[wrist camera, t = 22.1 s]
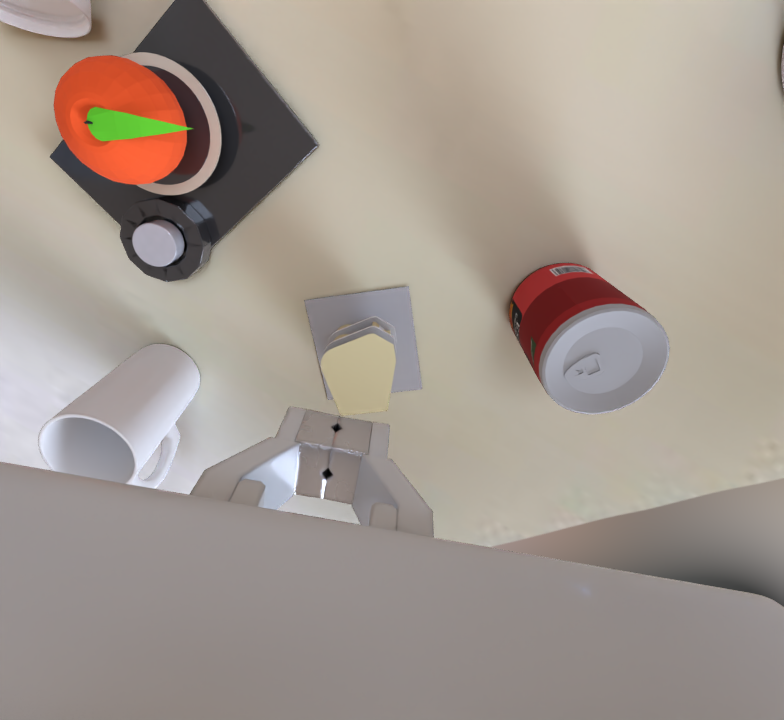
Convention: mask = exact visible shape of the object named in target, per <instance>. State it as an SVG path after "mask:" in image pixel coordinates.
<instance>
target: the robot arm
mask: <svg viewBox="0 0 784 720" xmlns="http://www.w3.org/2000/svg"><path fill="white" fill-rule="evenodd" d="M781 74H782V84H783V90H784V45H783V52H782V63H781ZM389 431H390V425H389V424H384V423H377V422H373V423H372V422H369V421H363V420H357V419H351V418H345V417H340V416H337V415H332V414H327V413H323V412H318V411H313V410H307V409H303V408H298V407H292V406H290V407H289V408H288V410H287V412H286V414H285V417H284V419H283V421H282V423H281V426H280V428H279V430H278V432H277V434H276V437H275V438H273V437H269V438H267V439H265V440H263V441H261V442H259V443H257V444H255V445H253V446H252V447H250V448H248V449H246V450H244V451H242V452H240V453H238V454H236V455H234V456H232V457H230V458H228V459H226V460H224V461H222V462H220V463H218V464H216V465H214V466H212V467H210V468H208V469H206V470H204V472H203V474H202V475H201V477H200V478H199V480H198V482H197V483H196V485H195V486H194V488H193V490H192V491H191V493H190V495H188V494H182V493H176V492H171V491H165V490H159V489H153V488H148V487H142V486H136V485H131V484H125V483H119V482H114V481H108V480H102V479H96V478H91V477H85V476H79V475H74V474H68V473H62V472H57V471H51V470H45V469H39V468H34V467H28V466H22V465H17V464H11V463H5V462H0V720H784V607H783V606H781V605H780V604H778V603H777V602H775V601H774V600H772V599H769V598H767V597H764V596H761V595H757V594H752V593H747V592H741V591H736V590H730V589H724V588H718V587H712V586H707V585H701V584H695V583H689V582H683V581H677V580H672V579H666V578H660V577H654V576H649V575H643V574H637V573H632V572H625V571H620V570H615V569H609V568H603V567H597V566H592V565H586V564H580V563H574V562H569V561H564V560H558V559H552V558H547V557H541V556H535V555H530V554H523V553H518V552H513V551H506V550H501V549H496V548H490V547H484V546H478V545H473V544H467V543H461V542H456V541H450V540H444V539H438V538H434V529H433V511H432V510H431V508H430V507H429V506H428V505H427V503H426V502H425V501H424V500H423V498H422V497H421V496H420V494H419V493H418V492H417V491H416V489H415V488H414V487H413V486H412V484H411V483H410V482H409V480H408V479H407V478H406V477H405V475H404V474H403V473H402V472H401V470H400V469H399V468H398V466H397V465H396V464H395V463H394V461H393V460H392V459H387V456H388V443H389ZM293 494H296V495H303V496H309V497H316V498H323V499H327V500H332V501H337V502H342V503H347V504H352V507H353V509H354V511H355V513H356V515H357V517H358V519H359V522H360V524H361V525H359V524H353V523H347V522H341V521H336V520H330V519H324V518H319V517H313V516H307V515H302V514H296V513H290V512H284V511H279V510H276V509H278V508H279V507H280V506H281V505H282V504H284V503H285V502H286V501H287V500H288V499H290V498H291V497H292V496H293Z"/></svg>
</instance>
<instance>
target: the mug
mask: <svg viewBox="0 0 784 720" xmlns="http://www.w3.org/2000/svg"><path fill="white" fill-rule="evenodd" d="M199 385H200V374H199V370H198V368H197V366H196V364H195V363H194V361H193V360H192V359H191V358H190V357H189V356H188V355H187V354H186V353H185V352H183V351H182V350H180V349H178V348H176V347H173V346H171V345H167V344H151V345H148V346H145V347H143V348H142V349H140V350H139V351H137V352H136V353H135V354H133V355H132V356H131V357H129V358H128V359H127V360H125V361H124V362H123V363H121V364H120V365H119V366H118V367H116V368H115V369H114V370H113V371H111V372H110V373H109V374H108V375H106V376H105V377H104V378H103V379H101V380H100V381H99V382H97V383H96V384H95V385H94V386H92V387H91V388H90V389H88V390H87V391H86V392H85V393H83V394H82V395H81V396H79V397H78V398H77V399H76V400H74V401H73V402H72V403H70V404H69V405H68V406H67V407H65V408H64V409H63V410H62V411H60V412H59V413H58V414H57V415H56V416H54V417H53V418H52V419H50V420H49V421H48V422H46V423H45V424H44V426H43V427H42V428H41V430H40V433H39V436H38V446H39V450H40V453H41V456H42V458H43V459H44V461H45V463H46V464H47V465H48V467H49V468H50V469H51V470H52V471H57V472H62V473H68V474H74V475H79V476H85V477H91V478H96V479H102V480H108V481H114V482H119V483H125V484H131V485H136V486H142V487H148V488H153V489H155V488H156V487H157V486H158V485H159V484H160V483H161V482H162V481H163V479H164V478H165V476H166V474H167V473H168V471H169V468H170V466H171V464H172V461H173V458H174V455H175V452H176V449H177V446H178V444H179V441H180V433H179V431H178V429H177V427H176V424H175V422H176V421H177V419H178V418H179V416H180V415H181V414H182V412H183V411H184V410H185V408H186V407H187V406H188V404H189V403H190V401H191V400H192V398H193V397H194V395H195V394H196V392H197V391H198V388H199ZM160 443H161V455H160V459H159V462H158V464H157V466H156V468H155V470H154V472H153V473H152V474H151V475H150V476H149V477H148V478H147V479H145V480H142V479H141V478H140V477H139V476H138V473H139V471H140V470H141V469H142V467H143V466H144V465H145V463H146V462H147V461H148V459H149V458H150V456H151V455H152V454H153V452H154V451H155V450H156V448H157V447H158V445H159V444H160Z"/></svg>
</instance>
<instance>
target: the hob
mask: <svg viewBox="0 0 784 720" xmlns="http://www.w3.org/2000/svg"><path fill="white" fill-rule="evenodd" d="M137 52H146V53H153V54H158V55H161V56H164V57H167V58H169V59H171V60H173V61H175V62H177V63H178V64H180V65H181V66H183V67H184V68H185V69H187V70H188V71H189V72H190V73H191V74H192V75H193V76H194V77H195V78H196V79H197V80H198V81H199V82H200V83H201V85H202V86H203V87H204V89H205V90H206V92H207V93H208V95H209V96H210V98H211V100H212V102H213V104H214V106H215V109H216V112H217V115H218V118H219V122H220V127H221V135H222V145H221V153H220V157H219V160H218V163H217V165H216V168H215V170H214V171H213V173H212V175H211V176H210V177H209V178H208V180H207V181H206V182H205V183H203V184H202V185H201V186H200V187H198V188H196V189H195V190H193V191H190V192H188V193H184V194H180V195H162V194H156V193H153V192H150V191H147V190H145V189H143V188H141V187H139V186H137V185H134V184H125V183H120V182H114V181H112V180H110V179H108V178H105V177H103V176H101V175H99V174H97V173H96V172H94V171H93V170H91V169H90V168H89V167H87V166H86V165H85V164H83V163H82V162H81V161H80V160H79V159H78V158H77V157H76V156H75V155H74V154H73V153H72V151H71V150H70V149H69V147H68V146H67V144H66V142H65V141H64V139H63V141H62V142H61V143H60V144H59V146H58V147H57V148H56V149H55V151H54V152H53V153H52V154H51V156H50V158H51V159H52V160H53V161H54V162H55V163H56V164H57V165H59V166H60V167H61V168H62V169H63V170H64V171H65V172H66V173H67V174H68V175H69V176H70V177H71V178H72V179H73V180H74V181H75V182H76V183H77V184H78V185H79V186H80V187H81V188H82V189H83V190H85V191H86V192H87V193H88V194H89V195H90V196H91V197H92V198H93V199H94V200H95V201H96V202H97V203H98V204H99V205H100V206H101V207H102V208H103V209H104V210H105V211H106V212H107V213H108V214H109V215H111V216H112V217H113V218H114V219H115V220H116V221H117V222H118V223H119V224H120V225H121V232H120V237H121V238H120V239H121V241H122V243H123V246H124V248H125V251H126V253H127V255H128V258H129V259H130V260H131V261H132V262H133V263H134V264H135V265H136V266H137V267H138V268H139V269H140V270H141V271H143V272H144V273H145V274H146V275H148V276H151V277H154V278H157V279H160V280H163V281H166V282H170V281H176V280H183V279H187V278H189V277H190V276H192V275H193V274H194V273H196V272H197V271H198V270H199V269H200V268H201V267H202V266H203V265H204V264H205V263H206V262H207V261H208V260H209V256H210V251H211V248H212V247H213V246H215V245H216V244H217V243H218V242H219V241H220V240H221V239H222V238H223V237H224V236H225V235H226V234H227V233H228V232H229V231H230V230H231V229H232V228H233V227H234V226H235V225H236V224H238V223H239V222H240V221H241V220H242V219H243V218H244V217H245V216H246V215H247V214H248V213H249V212H250V211H251V210H252V209H253V208H254V207H255V206H256V205H257V204H258V203H259V202H261V201H262V200H263V199H264V198H265V197H266V196H267V195H268V194H269V193H270V192H271V191H272V190H273V189H274V188H275V187H276V186H277V185H278V184H279V183H280V182H281V181H283V180H284V179H285V178H286V177H287V176H288V175H289V174H290V173H291V172H292V171H293V170H294V169H295V168H296V167H297V166H298V165H299V164H300V163H301V162H302V161H303V160H304V159H306V158H307V157H308V156H309V155H310V154H311V153H312V152H313V151H314V150H315V149H316V148H317V147H318V146H319V143H318V142H317V141H316V139H315V138H314V137H313V136H312V134H311V133H310V132H309V131H308V129H307V128H306V127H305V126H304V124H303V123H302V122H301V121H300V119H299V118H298V117H297V116H296V114H295V113H294V112H293V111H292V109H291V108H290V107H289V106H288V104H287V103H286V102H285V101H284V99H283V98H282V97H281V96H280V94H279V93H278V92H277V91H276V89H275V88H274V87H273V86H272V84H271V83H270V82H269V81H268V79H267V78H266V77H265V75H264V74H263V73H262V72H261V70H260V69H259V68H258V67H257V65H256V64H255V63H254V62H253V60H252V59H251V58H250V57H249V55H248V54H247V53H246V52H245V50H244V49H243V48H242V47H241V45H240V44H239V43H238V42H237V40H236V39H235V38H234V37H233V35H232V34H231V33H230V32H229V30H228V29H227V28H226V27H225V25H224V24H223V23H222V22H221V20H220V19H219V18H218V17H217V15H216V14H215V13H214V12H213V10H212V9H211V8H210V7H209V5H208V4H207V3H206V2H205V0H175V1H174V2H173V3H172V5H171V6H170V7H169V8H168V10H167V11H166V12H165V13H164V15H163V16H162V17H161V18H160V20H159V21H158V22H157V23H156V25H155V26H154V27H153V28H152V30H151V31H150V32H149V33H148V35H147V36H146V37H145V38H144V40H143V41H142V42H141V43H140V45H139V46H138V47H137V48H136V50H135V51H134V52H133V53H137ZM152 220H165V221H167V222H170V223H171V224H173V225H174V226H175V227H177V229H178V230H179V231H180V232H181V234H182V236H183V239H184V244H185V247H184V252H183V254H182V256H181V257H180V258H179V259H177V260H176V261H174V262H172V263H170V264H169V265H167V266H163V267H157V266H152V265H150V264H148V263H146V262H144V261H143V260H142V259H141V258H140V257H139V256H138V255H137V253H136V252H135V250H134V247H133V242H132V237H133V233H134V231H135V230H136V228H137V227H138V226H140V225H142V224H144V223H147V222H150V221H152Z"/></svg>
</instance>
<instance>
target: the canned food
mask: <svg viewBox="0 0 784 720" xmlns="http://www.w3.org/2000/svg"><path fill="white" fill-rule="evenodd" d="M509 318H510V324H511V327H512V330H513V332H514V334H515V336H516V337H517V339H518V341H519V343H520V345H521V347H522V349H523V351H524V353H525V355H526V356H527V358H528V360H529V362H530V364H531V366H532V368H533V370H534V372H535V374H536V375H537V377H538V379H539V381H540V382H541V384H542V386H543V387H544V389H545V391H546V392H547V394H548V395H549V396H550V397H551V398H552V399H553V400H554V401H555V402H556V403H557V404H558V405H560V406H562V407H563V408H565V409H567V410H570V411H573V412H576V413H582V414H602V413H608V412H612V411H615V410H618V409H621V408H624V407H626V406H628V405H630V404H632V403H634V402H635V401H637V400H638V399H640V398H641V397H643V396H644V395H645V394H646V393H647V392H648V391H649V390H651V389H652V388H653V386H654V385H655V384H656V383H657V382H658V380H659V379H660V377H661V376H662V374H663V372H664V370H665V368H666V365H667V362H668V359H669V349H670V347H669V341H668V337H667V335H666V332H665V330H664V328H663V327H662V326H661V325H660V323H659V322H658V321H657V320H656V319H655V318H654V316H652V315H651V314H650V313H648V312H647V311H646V310H645V309H644V308H642V307H641V306H639V305H638V304H637V303H635V302H634V301H633V300H631V299H630V298H629V297H627V296H626V295H625V294H623V293H622V292H621V291H619V290H618V289H616V288H615V287H614V286H612V285H611V284H610V283H608V282H607V281H606V280H604V279H603V278H602V277H600V276H599V275H597V274H596V273H595V272H593V271H592V270H591V269H589V268H587V267H585V266H582V265H579V264H573V263H558V264H553V265H548V266H546V267H543V268H540V269H539V270H537V271H535V272H533V273H532V274H531V275H529V276H528V277H527V278H526V279H524V281H523V282H522V283H521V284H520V285H519V286H518V288H517V290H516V292H515V293H514V296H513V298H512V301H511V305H510V311H509Z"/></svg>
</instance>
